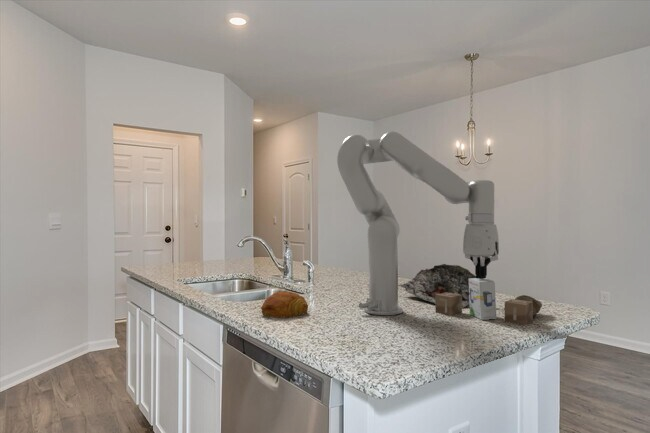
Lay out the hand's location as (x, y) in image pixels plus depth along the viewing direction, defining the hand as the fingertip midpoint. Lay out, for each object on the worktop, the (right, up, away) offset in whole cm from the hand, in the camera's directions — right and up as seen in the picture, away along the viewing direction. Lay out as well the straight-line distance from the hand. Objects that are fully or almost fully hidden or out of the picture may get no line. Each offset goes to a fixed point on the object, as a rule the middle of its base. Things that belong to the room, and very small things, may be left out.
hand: (480, 278), depth 131 cm
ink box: (0, -12, 0) cm, 12 cm away
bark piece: (-8, -13, +26) cm, 30 cm away
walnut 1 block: (+9, -12, -6) cm, 16 cm away
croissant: (-63, -13, +6) cm, 64 cm away
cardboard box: (-8, -12, +6) cm, 16 cm away
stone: (+14, -12, +2) cm, 19 cm away
